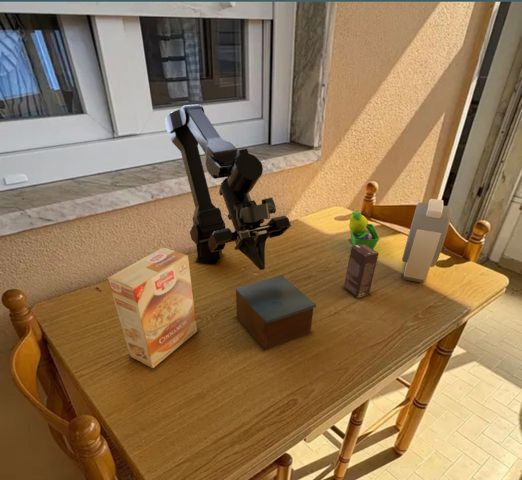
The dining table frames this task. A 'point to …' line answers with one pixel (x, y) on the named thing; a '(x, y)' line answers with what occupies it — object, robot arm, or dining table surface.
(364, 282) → the box
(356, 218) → the fruit basket
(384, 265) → the dining table surface
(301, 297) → the lid
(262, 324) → the chest
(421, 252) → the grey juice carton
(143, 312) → the coffeecake box
